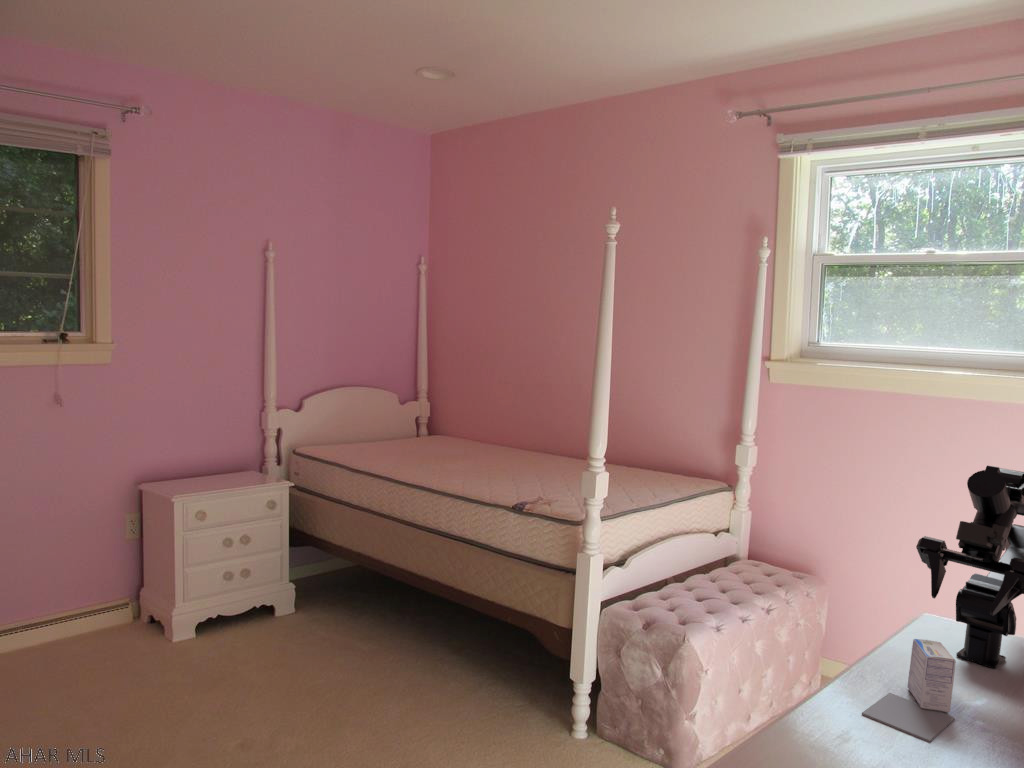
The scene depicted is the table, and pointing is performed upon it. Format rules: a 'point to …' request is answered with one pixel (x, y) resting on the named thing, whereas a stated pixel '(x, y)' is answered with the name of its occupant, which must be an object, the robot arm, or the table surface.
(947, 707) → the medicine box
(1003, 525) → the robot arm
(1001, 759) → the table surface
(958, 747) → the table surface
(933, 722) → the mat
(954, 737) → the table surface
